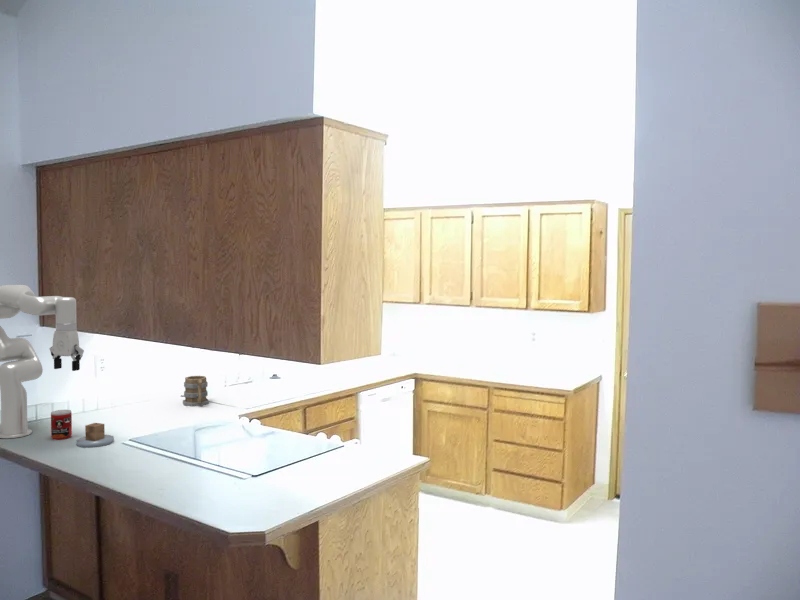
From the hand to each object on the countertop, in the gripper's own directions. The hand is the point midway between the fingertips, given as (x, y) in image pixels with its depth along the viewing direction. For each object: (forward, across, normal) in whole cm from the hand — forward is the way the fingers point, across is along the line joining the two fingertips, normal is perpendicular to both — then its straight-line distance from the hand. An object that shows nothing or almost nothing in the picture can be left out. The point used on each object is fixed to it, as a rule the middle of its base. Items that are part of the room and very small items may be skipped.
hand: (66, 369), depth 262 cm
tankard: (+31, +3, +78) cm, 84 cm away
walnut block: (+29, +10, +4) cm, 31 cm away
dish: (+30, +10, +4) cm, 32 cm away
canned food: (+31, -9, +5) cm, 32 cm away
